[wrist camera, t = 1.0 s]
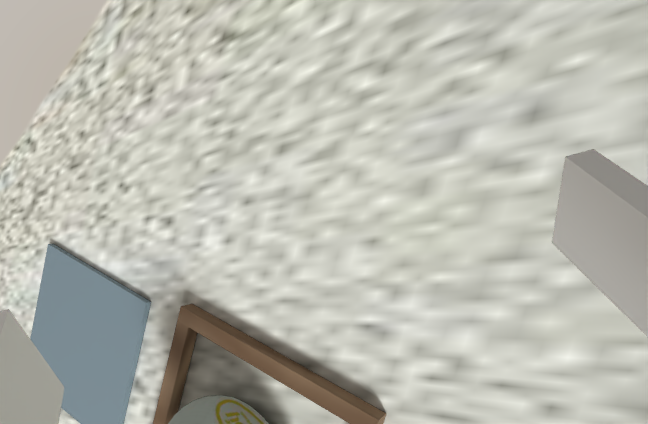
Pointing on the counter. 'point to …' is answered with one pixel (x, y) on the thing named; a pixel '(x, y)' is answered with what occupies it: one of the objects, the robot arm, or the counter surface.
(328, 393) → the wooden frame
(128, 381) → the rubber mat
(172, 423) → the air freshener
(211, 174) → the counter surface
